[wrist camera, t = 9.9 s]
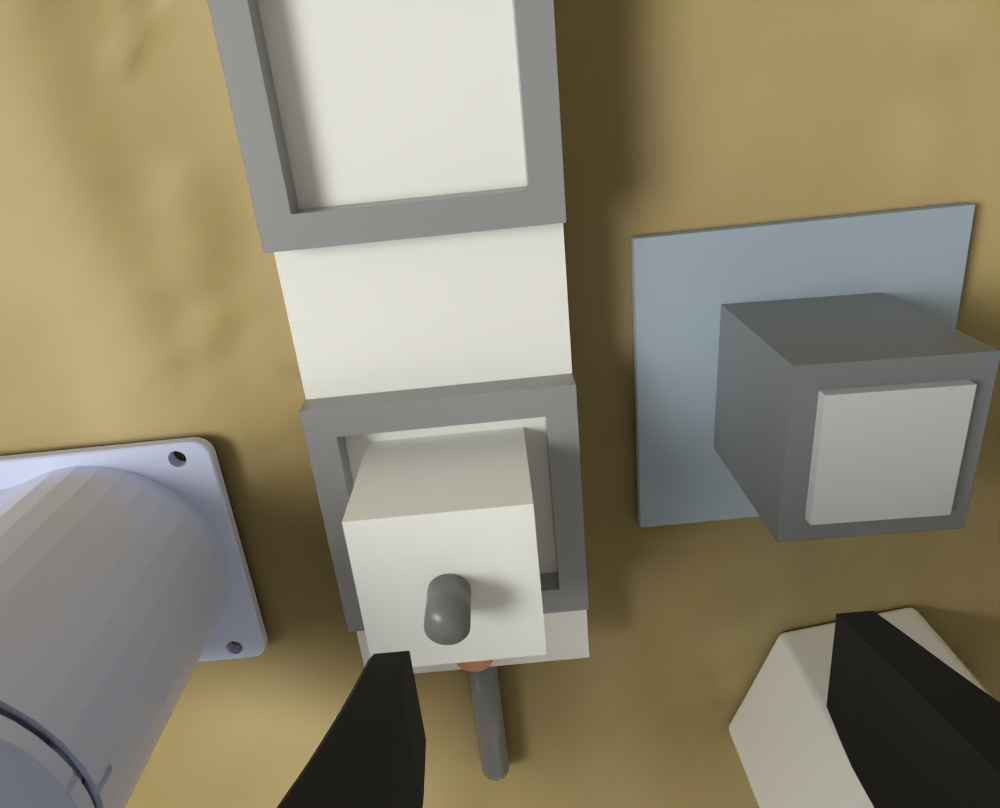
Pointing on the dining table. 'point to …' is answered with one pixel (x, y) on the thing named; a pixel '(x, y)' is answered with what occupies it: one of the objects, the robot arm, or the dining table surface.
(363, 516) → the white plug
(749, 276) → the mat
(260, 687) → the dining table surface
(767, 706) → the jar
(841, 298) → the block
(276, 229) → the power strip
